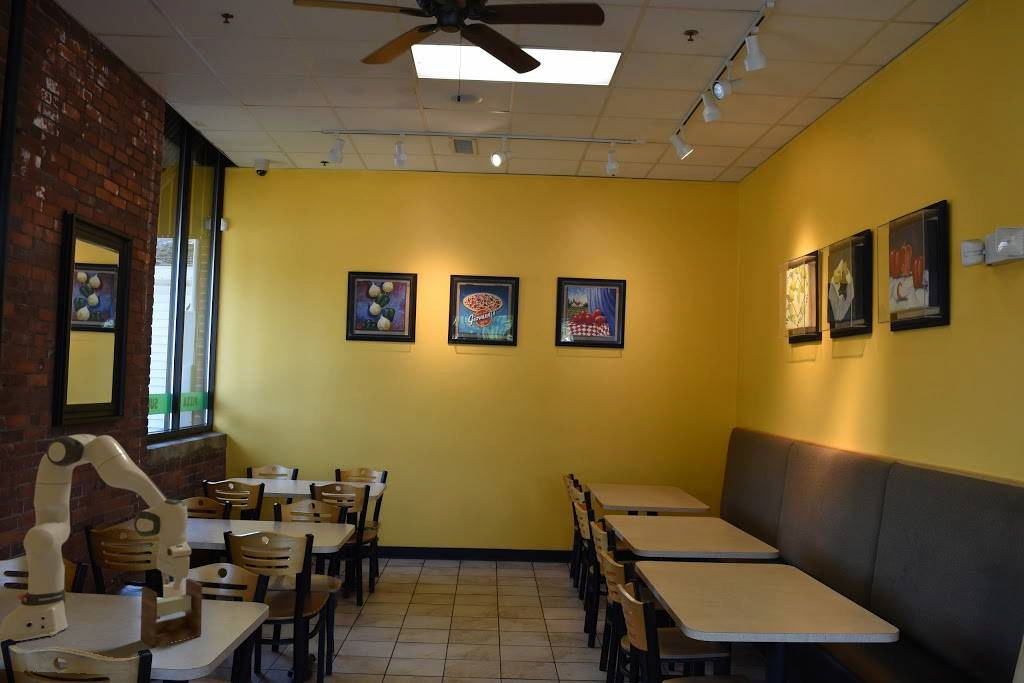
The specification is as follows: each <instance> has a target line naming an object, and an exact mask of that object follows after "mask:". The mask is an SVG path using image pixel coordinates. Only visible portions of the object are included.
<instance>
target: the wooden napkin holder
mask: <svg viewBox="0 0 1024 683" xmlns="http://www.w3.org/2000/svg"><path fill="white" fill-rule="evenodd" d="M185 594H187V595H189V596H191V610H186V611H182V613H184V612H185V615H181V616H176V617H173V618H167V619H164V620H160V619H161V616H158V617H157V600H158V592H156V591H155V590H153V589H151V588H149V587H147V586H142V587H141V605H140V608H141V609H140V641H141V640H142V641H141V642H143V643H144V644H146V645H147V646H148V647H150V648H151V649H154V647H155V648H157V647H156V646H159V647H161V646H160V645H163V646H165V645H164V644H167V645H169V644H168V643H171V642H175V641H179V640H184V639H188V638H192V637H196V636H200V635H201V636H202V612H203V610H202V609H203V608H202V607H203V606H202V602H203V584H202V583H200V582H198V581H196V580H194V579H192V578H185ZM157 620H159V621H157ZM201 636H200V637H201ZM196 638H197V637H196ZM192 639H193V638H192ZM188 640H189V639H188ZM184 641H185V640H184ZM175 643H176V642H175ZM171 644H172V643H171Z"/></svg>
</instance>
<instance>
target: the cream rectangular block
mask: <svg viewBox="0 0 1024 683" xmlns="http://www.w3.org/2000/svg"><path fill="white" fill-rule="evenodd" d="M186 610H191V596H189V595H187V594H186V593H185V594H184V595H180V596H175V597H170V598H165V599H164V598H161V599H157V617H158V616H160V617H163V616H167V615H170V614H171V615H173V614H175V613H180V612H182V613H183V611H186Z"/></svg>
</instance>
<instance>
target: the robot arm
mask: <svg viewBox="0 0 1024 683" xmlns="http://www.w3.org/2000/svg"><path fill="white" fill-rule="evenodd" d="M87 464H89V465H90V464H91V465H92V466H93V467H94V469H95V470H96V472H97V473H98V476H99V477H100V479H102V481H104V483H105V484H106V485H108V486H109V487H112V488H117V489H124V490H128V491H131V492H135V493H136V494H138V495H139V496H140V497H141V499H143V500H144V502H145V503H146V504H147V506H148V507H149V508H147V509H144V510H141V511H139V512H138V513H137V514H136V515H135V517H134V520H133V528H134V531H135V532H136V534H137V535H139V536H140V537H142V538H150V537H154V536H158V538H159V539H158V540H159V541H158V542H159V543H158V551H157V555H156V556H157V557H156V569H157V570H159V571H160V572H161V577H162V584H163V585H164V584H165V585H167V584H169V583H170V582H171V580H170V577H172V578H173V579H174V582H175V583H174V585H173V589H174V590H179V589H180V584H181V582H183V581H182V580H183V579H188V576H189V572H190V560H191V559H190V555H191V554H192V548H191V547H190V545H189V543H188V541H187V540H188V536H187V528H188V514H189V513H188V507H187V504H186V502H184V501H183V500H180V499H176V498H175V499H173V498H172V499H171V498H167V496H166V494H164V492H162V490H161V489H160V488H159V487H158V486H157V484H156V483H155V482H154V481H153V480H152V478H150V476H149V475H147V474H146V473H145V472H144V471H143V470H141V469H140V467H138V466H137V464H135V462H134V461H133V460H132V459H131V458H130V456H129V455H128V453H127V452H126V451H125V449H124V448H123V447H122V445H121V444H120V443H119V442H118V441H117V440H116V439H115V438H114V437H112V435H111V436H110V435H107V434H103V435H99V434H95V433H89V434H88V433H87V434H85V433H76V434H72V435H62V436H59V437H56V438H54V439H52V440H51V441H50V442H49V443H48V446H47V447H46V453H45V454H44V455H43V456H42V458H41V459H40V462H39V465H38V468H37V474H36V481H35V487H34V497H33V498H34V499H33V507H34V511H35V513H34V514H35V524H34V526H33V527H31V528H30V529H29V530H28V531H27V532H26V534H25V537H24V538H23V548H24V550H25V554H26V561H27V568H28V583H27V585H28V586H27V588H28V589H27V592H26V593H25V594H24V593H22V592H21V593H18V595H17V599H19V600H20V605H19V606H17V607H16V608H15V609H13V610H12V611H11V612H10V613H9V614H7V615H6V616H5V617H4V618H3V619H2V623H1V626H0V627H1V628H0V631H1V632H0V641H1V640H4V639H13V638H14V640H20V639H26V638H32V637H41V636H47V635H54V634H56V633H57V632H59V631H61V630H64V629H65V628H67V627H68V628H69V624H68V621H67V618H66V617H67V615H66V610H65V603H66V596H67V594H66V593H67V592H66V587H65V571H66V570H65V569H66V568H65V567H66V566H65V564H64V560H63V554H62V545H63V544H64V543H66V541H68V539H69V537H70V534H71V525H70V524H71V523H70V522H71V520H70V519H71V518H70V517H71V516H70V500H71V499H70V498H71V490H72V488H71V487H72V481H73V480H72V479H73V478H72V477H73V471H74V469H75V467H77V466H84V465H87ZM68 628H67V629H68ZM65 630H66V629H65ZM65 630H64V631H65ZM61 632H62V631H61ZM59 633H60V632H59ZM56 635H57V634H56Z"/></svg>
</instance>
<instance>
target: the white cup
mask: <svg viewBox="0 0 1024 683" xmlns="http://www.w3.org/2000/svg"><path fill="white" fill-rule="evenodd" d="M169 582H170V583H169V584H167V585H165V584H163V585H162V588H163V589H162V590H163V593H162V594H163V598H162V599H165V598H170V597H175V596H180V595H185V594H186V581H181V584H180V589H179V590H174V589H173V585H174V583H175V581H169Z"/></svg>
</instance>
